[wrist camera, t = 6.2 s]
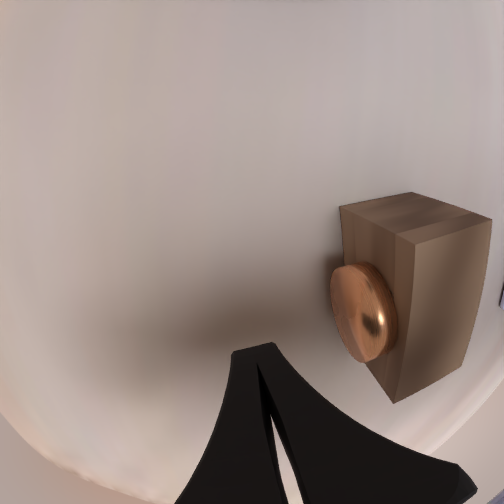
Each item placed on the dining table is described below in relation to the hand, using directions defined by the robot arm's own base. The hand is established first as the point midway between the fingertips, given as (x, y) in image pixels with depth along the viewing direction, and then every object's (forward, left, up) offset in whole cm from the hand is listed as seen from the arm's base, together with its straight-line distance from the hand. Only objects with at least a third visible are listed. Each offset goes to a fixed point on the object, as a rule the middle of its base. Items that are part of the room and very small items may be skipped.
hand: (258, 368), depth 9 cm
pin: (-7, 0, -3) cm, 8 cm away
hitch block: (-7, 0, -4) cm, 8 cm away
